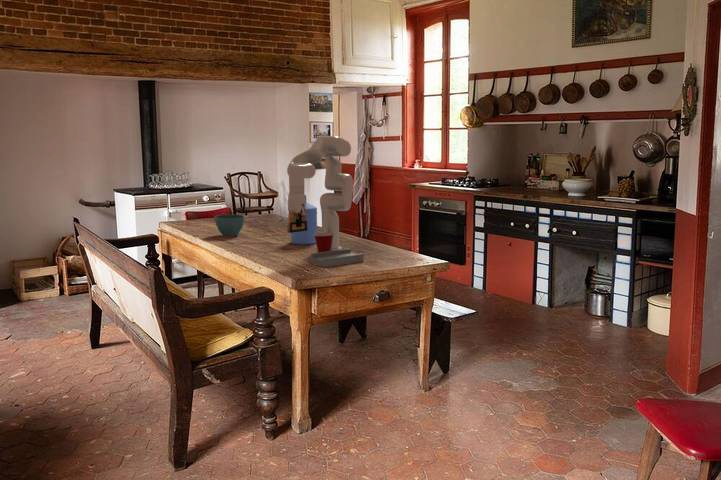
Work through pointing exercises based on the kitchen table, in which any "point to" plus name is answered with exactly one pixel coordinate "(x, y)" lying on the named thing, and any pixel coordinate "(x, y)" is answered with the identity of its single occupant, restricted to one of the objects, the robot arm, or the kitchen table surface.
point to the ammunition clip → (292, 222)
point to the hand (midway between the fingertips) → (297, 226)
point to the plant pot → (229, 224)
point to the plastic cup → (324, 241)
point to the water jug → (308, 235)
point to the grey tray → (336, 258)
